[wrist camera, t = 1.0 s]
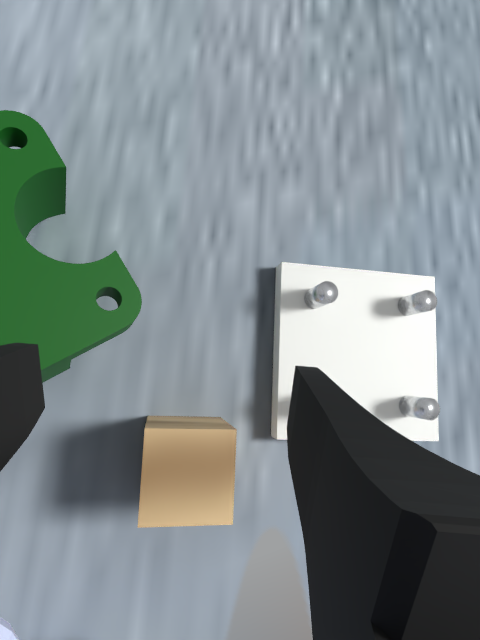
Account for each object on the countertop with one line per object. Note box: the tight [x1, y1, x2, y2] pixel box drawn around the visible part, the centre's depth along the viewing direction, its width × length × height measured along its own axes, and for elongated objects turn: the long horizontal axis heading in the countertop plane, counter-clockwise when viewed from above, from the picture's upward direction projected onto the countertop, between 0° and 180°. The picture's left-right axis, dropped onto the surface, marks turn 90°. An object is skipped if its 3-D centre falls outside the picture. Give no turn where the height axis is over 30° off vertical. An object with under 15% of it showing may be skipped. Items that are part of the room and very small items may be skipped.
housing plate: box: [271, 262, 440, 441], centre depth 23 cm, size 10×10×3 cm
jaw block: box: [138, 416, 236, 528], centre depth 20 cm, size 4×4×5 cm
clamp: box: [0, 110, 142, 383], centre depth 19 cm, size 12×6×9 cm, turn 25°
